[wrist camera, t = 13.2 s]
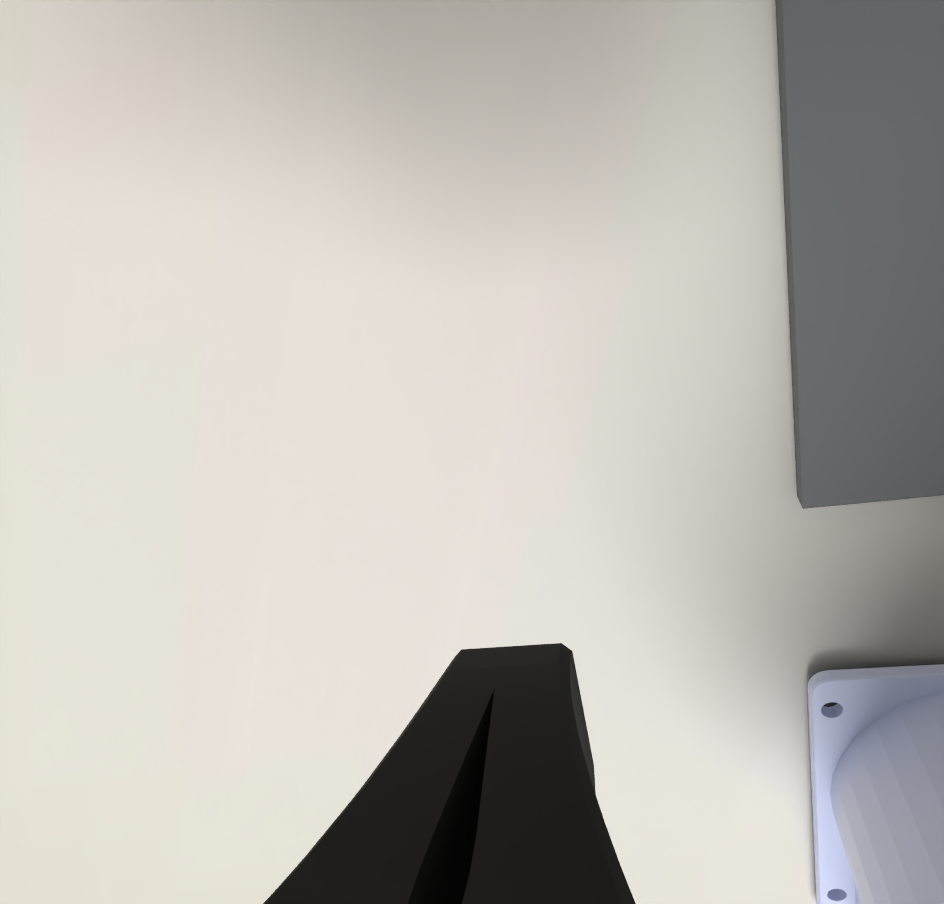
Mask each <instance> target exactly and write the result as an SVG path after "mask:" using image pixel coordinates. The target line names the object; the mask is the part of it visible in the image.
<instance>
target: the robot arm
mask: <svg viewBox="0 0 944 904" xmlns="http://www.w3.org/2000/svg"><path fill="white" fill-rule="evenodd" d="M807 688H808V711H809V735H810V758H811V782H812V806H813V829H814V853H815V877H816V900H817V904H944V664H937V665H918V666H899V667H880V668H861V669H842V670H826V671H821V672H818V673H817V674H815V675H813V676H812V677H811V679H810V680H809V682H808V686H807ZM830 702H835V703H837V704H836V705H834V706H831V707H824V706H823V705H825V704H826V703H830ZM263 904H635V901H634V899H633V896H632V894H631V891H630V889H629V886H628V884H627V881H626V879H625V876H624V874H623V871H622V868H621V866H620V863H619V861H618V858H617V855H616V852H615V850H614V847H613V844H612V841H611V839H610V836H609V833H608V831H607V828H606V825H605V822H604V819H603V816H602V813H601V810H600V807H599V804H598V801H597V798H596V795H595V778H594V764H593V759H592V753H591V748H590V743H589V738H588V732H587V727H586V722H585V716H584V711H583V706H582V701H581V695H580V690H579V685H578V679H577V674H576V669H575V664H574V658H573V653H572V651H571V650H570V649H569V648H567V647H566V646H564V645H563V644H562V643H558V644H542V645H527V646H511V647H495V648H480V649H464V650H461V651H460V652H459V653H458V654H457V655H456V656H455V658H454V659H453V660H452V662H451V663H450V665H449V666H448V668H447V669H446V670H445V672H444V673H443V675H442V676H441V678H440V679H439V681H438V682H437V684H436V685H435V687H434V688H433V690H432V691H431V692H430V694H429V695H428V697H427V698H426V700H425V701H424V703H423V704H422V705H421V707H420V708H419V710H418V711H417V713H416V714H415V715H414V717H413V718H412V720H411V721H410V723H409V724H408V725H407V727H406V728H405V730H404V731H403V732H402V734H401V735H400V737H399V738H398V739H397V741H396V742H395V743H394V745H393V746H392V747H391V749H390V750H389V751H388V753H387V754H386V756H385V757H384V758H383V760H382V761H381V762H380V764H379V765H378V766H377V768H376V769H375V770H374V772H373V773H372V774H371V776H370V777H369V778H368V780H367V781H366V782H365V784H364V785H363V786H362V788H361V789H360V790H359V792H358V793H357V794H356V795H355V797H354V798H353V799H352V800H351V802H350V803H349V804H348V805H347V807H346V808H345V809H344V810H343V811H342V813H341V814H340V815H339V816H338V817H337V819H336V820H335V821H334V822H333V824H332V825H331V826H330V827H329V828H328V830H327V831H326V832H325V833H324V835H323V836H322V837H321V838H320V839H319V841H318V842H317V843H316V844H315V845H314V847H313V848H312V849H311V850H310V852H309V853H308V854H307V855H306V856H305V858H304V859H303V860H302V861H301V862H300V863H299V864H298V866H297V867H296V868H295V869H294V870H293V871H292V872H291V874H290V875H289V876H288V877H287V878H286V879H285V880H284V881H283V883H282V884H281V885H280V886H279V887H278V888H277V889H276V890H275V891H274V893H273V894H272V895H271V896H270V897H269V898H268V899H267V900H266V901H265V902H264V903H263Z"/></svg>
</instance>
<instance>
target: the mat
mask: <svg viewBox="0 0 944 904" xmlns="http://www.w3.org/2000/svg"><path fill="white" fill-rule="evenodd" d="M776 18H777V41H778V64H779V87H780V110H781V133H782V156H783V179H784V202H785V225H786V248H787V271H788V294H789V317H790V340H791V363H792V386H793V409H794V432H795V454H796V477H797V496H798V499H799V501H800V503H801V505H802V508H803V509H804V508H814V507H825V506H835V505H846V504H856V503H866V502H877V501H887V500H898V499H908V498H918V497H929V496H939V495H944V0H776Z"/></svg>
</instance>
